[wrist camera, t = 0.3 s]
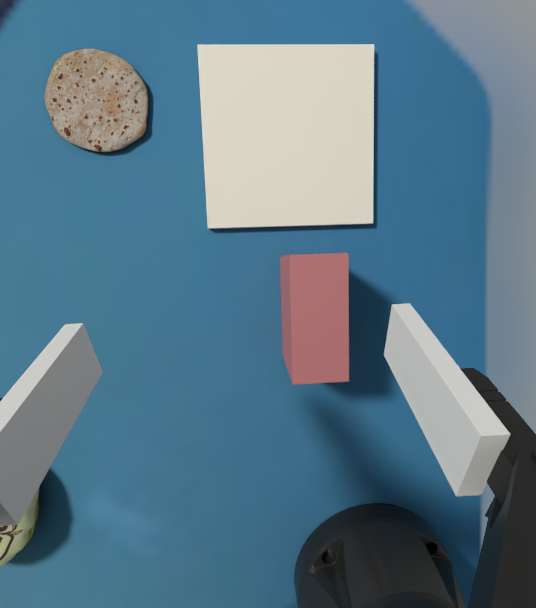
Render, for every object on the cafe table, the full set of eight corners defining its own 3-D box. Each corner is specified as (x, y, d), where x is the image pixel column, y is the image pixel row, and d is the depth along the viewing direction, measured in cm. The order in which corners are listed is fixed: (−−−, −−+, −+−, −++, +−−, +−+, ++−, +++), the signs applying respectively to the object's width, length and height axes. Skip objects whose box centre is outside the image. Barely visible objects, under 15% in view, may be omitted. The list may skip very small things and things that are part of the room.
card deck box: (326, 354, 31) (349, 381, 24) (282, 356, 31) (292, 384, 24) (325, 254, 30) (348, 252, 23) (279, 256, 30) (289, 254, 23)
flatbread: (36, 128, 27) (28, 123, 26) (68, 35, 27) (61, 27, 26) (133, 171, 28) (129, 168, 27) (166, 82, 28) (163, 75, 27)
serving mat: (370, 223, 30) (373, 223, 29) (208, 228, 29) (207, 228, 28) (371, 49, 28) (374, 44, 27) (198, 49, 27) (197, 44, 27)
